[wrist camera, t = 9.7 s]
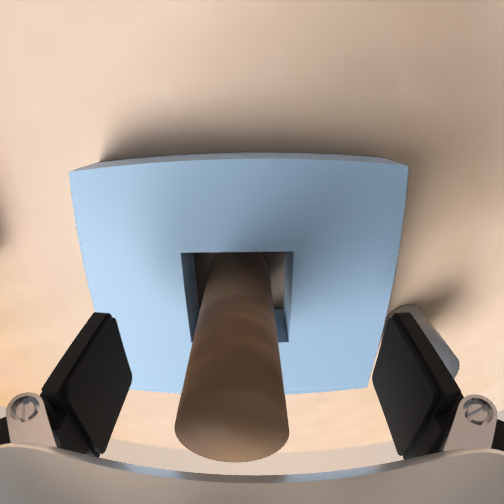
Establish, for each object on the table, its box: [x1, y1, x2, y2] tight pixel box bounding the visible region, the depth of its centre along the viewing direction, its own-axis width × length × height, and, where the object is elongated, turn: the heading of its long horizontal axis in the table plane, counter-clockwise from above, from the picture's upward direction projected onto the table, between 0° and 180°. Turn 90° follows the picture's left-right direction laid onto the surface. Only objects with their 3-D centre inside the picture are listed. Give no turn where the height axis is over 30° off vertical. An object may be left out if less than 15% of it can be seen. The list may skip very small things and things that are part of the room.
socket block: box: [69, 152, 409, 394], centre depth 15 cm, size 14×12×3 cm
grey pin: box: [382, 305, 459, 379], centre depth 16 cm, size 3×3×5 cm
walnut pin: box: [175, 252, 289, 462], centre depth 12 cm, size 3×3×10 cm
